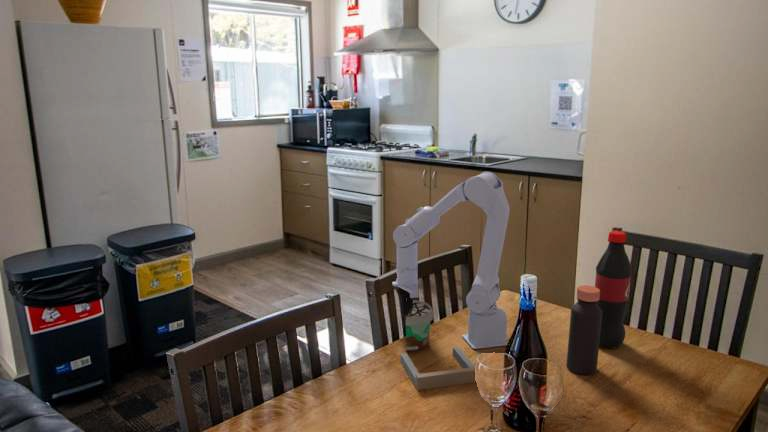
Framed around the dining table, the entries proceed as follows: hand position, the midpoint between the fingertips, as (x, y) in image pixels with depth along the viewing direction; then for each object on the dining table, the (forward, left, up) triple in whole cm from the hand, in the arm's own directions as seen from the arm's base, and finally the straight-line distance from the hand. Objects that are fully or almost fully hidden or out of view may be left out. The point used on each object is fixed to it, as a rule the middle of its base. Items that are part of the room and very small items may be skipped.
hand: (406, 313), depth 154 cm
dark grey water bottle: (-33, +34, -4) cm, 48 cm away
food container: (0, +13, -4) cm, 13 cm away
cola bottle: (-47, +24, -4) cm, 53 cm away
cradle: (0, +26, -3) cm, 26 cm away
